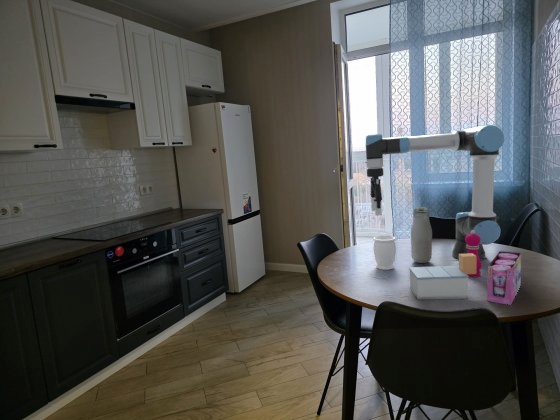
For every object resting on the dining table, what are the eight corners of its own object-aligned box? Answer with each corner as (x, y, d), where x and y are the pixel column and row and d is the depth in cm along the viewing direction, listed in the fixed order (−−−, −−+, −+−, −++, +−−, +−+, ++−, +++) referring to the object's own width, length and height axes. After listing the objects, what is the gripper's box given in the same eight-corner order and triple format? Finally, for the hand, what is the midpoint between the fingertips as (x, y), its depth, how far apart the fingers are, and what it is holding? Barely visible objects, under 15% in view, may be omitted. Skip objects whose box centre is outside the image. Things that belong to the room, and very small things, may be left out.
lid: (467, 267, 149) (467, 250, 148) (481, 277, 137) (481, 259, 136) (409, 269, 152) (408, 252, 151) (417, 279, 140) (417, 261, 139)
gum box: (511, 307, 129) (511, 269, 127) (485, 302, 134) (486, 266, 132) (521, 285, 147) (522, 252, 145) (498, 282, 152) (498, 250, 151)
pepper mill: (480, 272, 165) (480, 228, 163) (483, 277, 159) (483, 232, 156) (462, 271, 168) (462, 228, 165) (464, 277, 161) (464, 232, 158)
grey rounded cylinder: (412, 265, 182) (411, 209, 178) (410, 259, 192) (409, 205, 188) (433, 265, 179) (433, 208, 175) (431, 259, 189) (430, 205, 185)
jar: (397, 270, 176) (396, 239, 173) (374, 270, 178) (373, 240, 176) (395, 264, 186) (394, 234, 184) (373, 264, 188) (372, 235, 186)
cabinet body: (455, 286, 151) (455, 267, 150) (467, 298, 139) (467, 277, 138) (410, 288, 153) (409, 269, 152) (418, 299, 141) (417, 279, 140)
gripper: (363, 167, 186) (365, 209, 189) (370, 169, 161) (371, 217, 164) (379, 166, 185) (380, 208, 188) (387, 168, 160) (389, 216, 164)
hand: (376, 212), depth 176 cm, fingers open, 13 cm apart
